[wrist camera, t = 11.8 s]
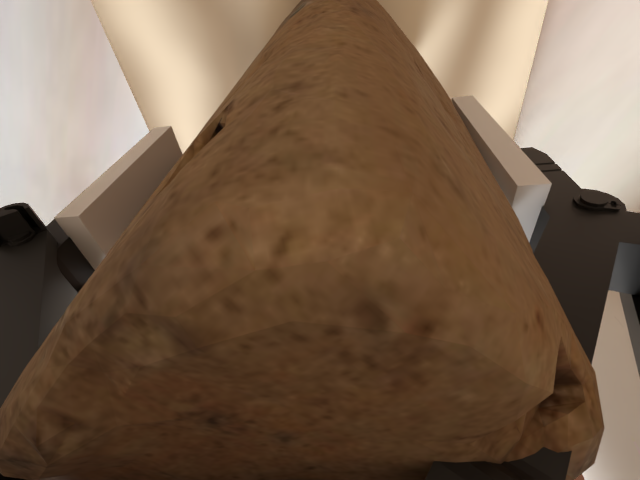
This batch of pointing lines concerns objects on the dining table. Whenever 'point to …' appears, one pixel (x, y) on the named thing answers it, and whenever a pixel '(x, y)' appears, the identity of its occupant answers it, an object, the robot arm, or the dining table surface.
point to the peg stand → (264, 19)
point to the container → (616, 398)
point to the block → (312, 294)
